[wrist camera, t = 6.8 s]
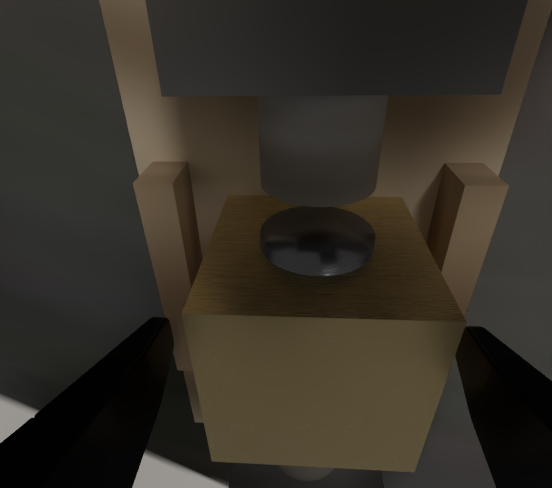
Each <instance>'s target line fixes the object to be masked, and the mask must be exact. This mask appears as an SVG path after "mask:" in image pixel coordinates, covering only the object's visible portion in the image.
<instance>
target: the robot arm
mask: <svg viewBox="0 0 552 488" xmlns="http://www.w3.org/2000/svg"><path fill="white" fill-rule="evenodd" d="M173 348H174V338H173V334H172V330H171V325H170V321H169V319H168V318H166V317H152V318H150V319H149V320H148V321H147V322H145V323H144V324H143V325H142V326H141V327H139V328H138V329H137V330H136V331H135V332H133V333H132V334H131V335H130V336H129V337H127V338H126V339H125V340H124V341H123V342H122V343H120V344H119V345H118V346H117V347H116V348H114V349H113V350H112V351H111V352H110V353H108V354H107V355H106V356H105V357H104V358H102V359H101V360H100V361H99V362H98V363H96V364H95V365H94V366H93V367H92V368H90V369H89V370H88V371H87V372H86V373H84V374H83V375H82V376H81V377H80V378H79V379H77V380H76V381H75V382H74V383H73V384H71V385H70V386H69V387H68V388H67V389H65V390H64V391H63V392H62V393H61V394H59V395H58V396H57V397H56V398H55V399H53V400H52V401H51V402H50V403H49V404H47V405H46V406H45V407H44V408H43V409H42V410H40V411H39V412H38V413H37V414H36V415H35V417H34V418H31V419H29V420H28V421H27V422H26V423H25V424H24V425H22V426H21V427H20V428H19V429H18V430H16V431H15V432H14V433H13V434H11V435H10V436H9V437H8V438H6V439H5V440H4V441H3V442H1V443H0V488H132V486H133V483H134V480H135V477H136V474H137V472H138V469H139V465H140V463H141V460H142V457H143V454H144V451H145V449H146V446H147V443H148V440H149V437H150V434H151V431H152V428H153V425H154V423H155V420H156V417H157V414H158V411H159V408H160V405H161V401H162V397H163V393H164V388H165V384H166V379H167V375H168V371H169V366H170V362H171V357H172V353H173ZM455 355H456V361H457V365H458V369H459V373H460V377H461V381H462V385H463V389H464V393H465V397H466V401H467V405H468V409H469V413H470V416H471V419H472V422H473V425H474V428H475V431H476V434H477V436H478V439H479V442H480V444H481V447H482V450H483V453H484V455H485V458H486V461H487V463H488V466H489V469H490V472H491V474H492V477H493V480H494V482H495V485H496V488H552V381H551V380H550V379H548V378H547V377H546V376H545V375H543V374H542V373H541V372H539V371H538V370H537V369H536V368H534V367H533V366H532V365H531V364H529V363H528V362H527V361H525V360H524V359H523V358H522V357H520V356H519V355H518V354H517V353H515V352H514V351H513V350H512V349H510V348H509V347H508V346H506V345H505V344H504V343H503V342H501V341H500V340H499V339H498V338H496V337H495V336H494V335H492V334H491V333H490V332H489V331H487V330H486V329H485V328H483V327H479V326H466V327H465V329H464V331H463V334H462V337H461V340H460V343H459V346H458V349H457V352H456V354H455Z"/></svg>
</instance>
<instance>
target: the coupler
mask: <svg viewBox="0 0 552 488" xmlns="http://www.w3.org/2000/svg"><path fill="white" fill-rule="evenodd" d="M182 319H183V324H184V329H185V333H186V338H187V343H188V348H189V353H190V358H191V363H192V368H193V372H194V377H195V382H196V387H197V392H198V397H199V402H200V407H201V411H202V416H203V421H204V426H205V431H206V436H207V441H208V446H209V450H210V455H211V460H212V462H231V463H250V464H269V465H288V466H307V467H326V468H345V469H364V470H383V471H402V472H415V469H416V466H417V463H418V460H419V457H420V455H421V452H422V449H423V446H424V443H425V440H426V437H427V435H428V432H429V429H430V426H431V423H432V420H433V417H434V415H435V412H436V409H437V406H438V403H439V400H440V397H441V394H442V392H443V389H444V386H445V383H446V380H447V377H448V374H449V372H450V369H451V366H452V363H453V360H454V357H455V354H456V352H457V349H458V346H459V343H460V340H461V337H462V334H463V331H464V329H465V326H466V323H467V322H466V320H465V318H464V316H463V314H462V312H461V310H460V308H459V306H458V304H457V302H456V300H455V298H454V296H453V294H452V293H451V291H450V289H449V287H448V285H447V283H446V281H445V279H444V277H443V275H442V273H441V271H440V269H439V267H438V265H437V264H436V262H435V260H434V258H433V256H432V254H431V252H430V250H429V248H428V246H427V244H426V242H425V240H424V238H423V237H422V235H421V233H420V231H419V229H418V227H417V225H416V223H415V221H414V219H413V217H412V215H411V213H410V211H409V209H408V208H407V206H406V204H405V202H404V200H403V198H402V197H367V198H365V199H364V200H361V201H359V202H356V203H352V204H348V205H343V206H335V207H308V206H300V205H294V204H290V203H286V202H283V201H280V200H278V199H275V198H273V197H271V196H254V195H228V196H227V199H226V201H225V204H224V207H223V209H222V212H221V214H220V217H219V219H218V222H217V224H216V227H215V230H214V232H213V235H212V237H211V240H210V242H209V245H208V247H207V250H206V252H205V255H204V258H203V260H202V263H201V265H200V268H199V270H198V273H197V275H196V278H195V281H194V283H193V286H192V288H191V291H190V293H189V296H188V298H187V301H186V304H185V306H184V309H183V311H182Z"/></svg>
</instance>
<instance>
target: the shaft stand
mask: <svg viewBox="0 0 552 488" xmlns="http://www.w3.org/2000/svg"><path fill="white" fill-rule="evenodd" d="M99 2H100V6H101V11H102V15H103V19H104V24H105V28H106V33H107V37H108V41H109V46H110V50H111V55H112V59H113V63H114V68H115V72H116V77H117V81H118V86H119V90H120V94H121V99H122V103H123V108H124V112H125V116H126V121H127V125H128V130H129V134H130V138H131V143H132V147H133V152H134V156H135V161H136V165H137V169H138V174H139V177H138V178H137V179H136V180H135V181H134V182H133V186H134V190H135V194H136V199H137V203H138V207H139V211H140V215H141V220H142V224H143V228H144V232H145V236H146V240H147V245H148V249H149V253H150V257H151V261H152V266H153V270H154V274H155V278H156V282H157V287H158V291H159V295H160V299H161V303H162V307H163V312H164V316H165V317H166V318H168V319H169V321H170V325H171V330H172V334H173V338H174V348H173V354H174V358H175V362H176V366H177V370H181V371H183V372H184V377H185V381H186V385H187V390H188V394H189V399H190V403H191V407H192V412H193V416H194V421H195V422H198V423H204V421H203V416H202V411H201V407H200V402H199V397H198V392H197V387H196V382H195V377H194V372H193V368H192V363H191V358H190V353H189V348H188V343H187V338H186V333H185V329H184V324H183V319H182V311H183V309H184V306H185V304H186V301H187V298H188V296H189V293H190V291H191V288H192V286H193V283H194V281H195V278H196V275H197V273H198V270H199V268H200V265H201V263H202V260H203V258H204V255H205V252H206V250H207V247H208V245H209V242H210V240H211V237H212V235H213V232H214V230H215V227H216V224H217V222H218V219H219V217H220V214H221V212H222V209H223V207H224V204H225V201H226V199H227V196H228V195H254V196H271V197H273V198H275V199H278V200H280V201H283V202H286V203H290V204H294V205H300V206H308V207H335V206H343V205H348V204H352V203H356V202H359V201H361V200H364V199H365V198H367V197H402V198H403V200H404V202H405V204H406V206H407V208H408V209H409V211H410V213H411V215H412V217H413V219H414V221H415V223H416V225H417V227H418V229H419V231H420V233H421V235H422V237H423V238H424V240H425V242H426V244H427V246H428V248H429V250H430V252H431V254H432V256H433V258H434V260H435V262H436V264H437V265H438V267H439V269H440V271H441V273H442V275H443V277H444V279H445V281H446V283H447V285H448V287H449V289H450V291H451V293H452V294H453V296H454V298H455V300H456V302H457V304H458V306H459V308H460V310H461V312H462V314H463V316H464V317H465V314H466V311H467V308H468V305H469V302H470V299H471V296H472V293H473V291H474V288H475V285H476V282H477V279H478V276H479V273H480V270H481V267H482V264H483V261H484V258H485V255H486V252H487V250H488V247H489V244H490V241H491V238H492V235H493V232H494V229H495V226H496V223H497V220H498V217H499V214H500V211H501V209H502V206H503V203H504V200H505V197H506V194H507V191H508V188H509V185H508V184H507V183H505V182H504V181H503V180H502V179H501V178H500V177H499V173H500V170H501V166H502V163H503V160H504V157H505V154H506V151H507V148H508V144H509V141H510V138H511V135H512V132H513V129H514V126H515V123H516V119H517V116H518V113H519V110H520V107H521V104H522V101H523V98H524V94H525V91H526V88H527V85H528V82H529V79H530V76H531V73H532V69H533V66H534V63H535V60H536V57H537V54H538V51H539V48H540V44H541V41H542V38H543V35H544V32H545V29H546V26H547V23H548V19H549V16H550V13H551V10H552V0H99ZM229 488H384V485H383V479H382V473H381V470H364V469H345V468H326V467H307V466H288V465H269V464H250V463H232V469H231V475H230V482H229Z"/></svg>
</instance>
